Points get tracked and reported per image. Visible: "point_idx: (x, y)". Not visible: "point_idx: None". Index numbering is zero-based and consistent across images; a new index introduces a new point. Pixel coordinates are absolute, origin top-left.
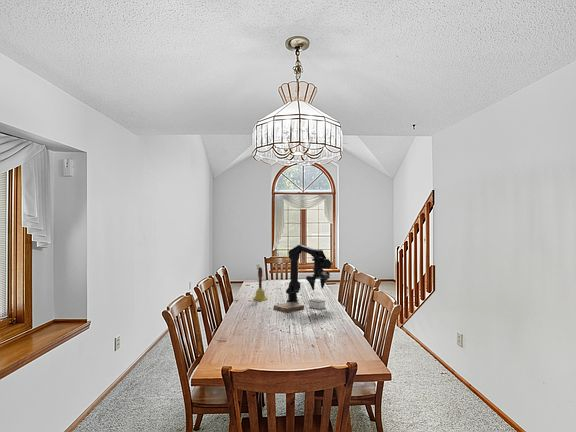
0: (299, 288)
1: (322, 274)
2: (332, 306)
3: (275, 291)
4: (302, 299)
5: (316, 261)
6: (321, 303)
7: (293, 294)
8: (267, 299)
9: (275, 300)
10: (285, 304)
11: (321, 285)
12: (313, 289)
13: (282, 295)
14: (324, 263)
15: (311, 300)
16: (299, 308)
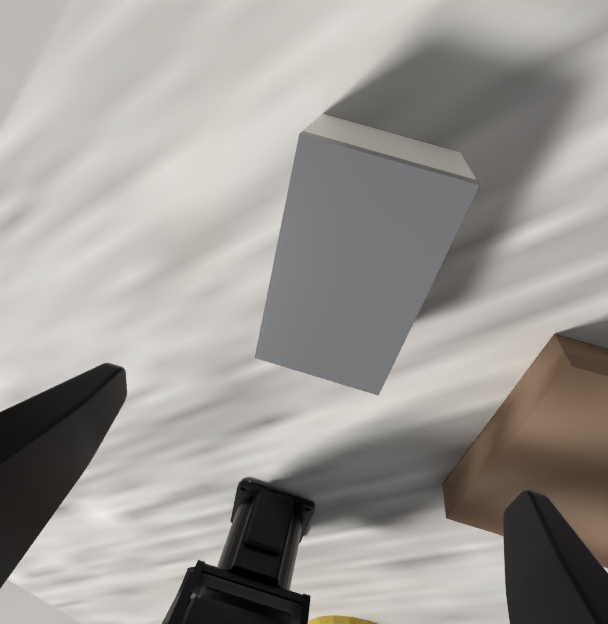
0: (195, 615)
1: None
2: (175, 44)
3: (120, 613)
4: (157, 472)
5: None
6: (409, 156)
7: (279, 574)
8: (340, 619)
9: (326, 586)
10: (597, 530)
11: (61, 482)
12: (559, 520)
13: (167, 580)
14: None
15: (395, 357)
16: None
